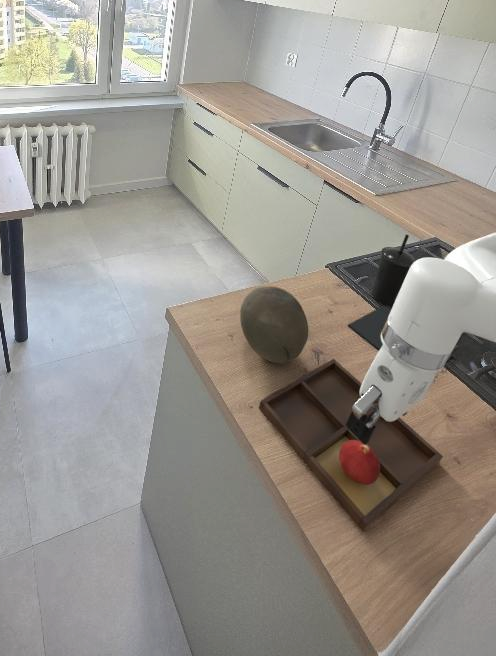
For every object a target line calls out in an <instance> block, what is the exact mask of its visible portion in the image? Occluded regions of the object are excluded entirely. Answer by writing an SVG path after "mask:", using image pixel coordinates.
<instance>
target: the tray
mask: <svg viewBox="0 0 496 656" xmlns="http://www.w3.org/2000/svg"><path fill="white" fill-rule="evenodd" d="M361 385H362V382H360V380H358V379H357V378H356V377H355V376H354V375H353V374H352V373H350V371H348V370H347V369H346V368H345V367H344V366H342V364H340V363H339V362H338V361H337V360H336V359H335V358H332V359H330V360H328V361H326V362H325V363H323V364H322V365H319V366H318V367H316V368H314V369H313V370H311V371H309V372H308V373H306V374H304V375H303V376H301V377H299V378H298V379H296V380H294V381H292V382H291V383H289V384H287V385H286V386H284V387H282V388H280V389H279V390H277V391H274V392H273V393H271V394H270V395H268V396H266V397H265V398H263V399H261V400H260V401H259V406H258V409H259V411H261V412H262V414H263V415H265V417H266V418H267V420H268V421H269V422H270V423H271V424H272V425H273V427H274V428H275V429H276V431H278V433H279V435H281V436H282V437H283V439H284V440H286V442H287V443H288V445H289V446H290V447H291V448H292V449H293V451H294V452H295V453H296V454H297V455H298V456H299V457H300V459H301V460H302V461H303V462H304V463H305V465H306V467H308V468H309V469H310V471H311V472H312V473H313V474H314V476H315V477H316V478H317V479H318V480H319V482H320V483H321V484H322V485H323V486H324V487H325V489H326V490H327V491H328V492H329V494H331V496H332V497H333V498H334V499H335V501H336V502H337V504H339V505H340V507H341V508H342V509H343V510H344V511H345V512H346V514H347V515H348V516H349V517H350V519H351V520H352V521H353V522H354V524H356V526H357V527H358V528H359V530H360V531H361V532H364V531H366V530H367V529H368V528H369V527H370V526H371V525H372V524H373V523H375V522H376V521H377V520H378V519H379V518H380V517H381V516H382V515H384V513H386V512H387V511H388V510H389V509H390V508H391V507H392V506H393V505H395V503H397V502H398V501H399V500H400V499H401V498H403V497H404V495H406V494H407V493H408V492H409V491H410V490H411V489H412V488H413V487H415V486H416V485H417V484H418V483H419V482H421V480H422V479H424V477H426V476H427V475H428V474H429V473H430V472H431V471H433V470H434V469H435V468H436V467H437V466H438V465H439V464H440V462H441V461H442V460H443V457H444V456H443V455H442V454H441V453H440V452H439V451H438V450H437V449H435V447H433V445H431V443H429V442H428V441H426V440H425V439H424V437H422V436H421V435H420V434H419V433H417V432H416V430H414V428H413V427H411V426H410V425H409V424H408V423H406V422H405V421H404V420H403V418H401V417H399V418H398V419H396V420H395V421H392V422H389V421H386V420H385V419H384V418H383V417H381V416H380V418H379V419H378V420H377V421H376V423H375V424H374V425H375V427H376V428H375V430H374V432H373V434H372V436H371V438H370V440H369V442H368V443H367V445H369V446H370V447H371V448H372V449H373V451H374V452H375V453H376V455H377V457H378V460H379V463H380V474H379V477H378V478H377V480H376V481H375V482H374V483H372V484H369V485H364V484H360V483H357V482H356V481H354V480H352V479H351V478H350V477H349V476H348V475H347V474H346V473H345V472H344V470H343V469H342V466H341V463H340V460H339V453H340V449H341V447H342V446H343V444H344V443H345V442H347V441H350V440H357V441H360V440H359V439H358V438H357V437H356V436H355V435H354V434H353V433H352V432H351V431H350V430H349V429H348V428H347V426H346V423H347V421H348V419H349V417H350V414H351V410H352V407H353V405H354V404H355V403H356V402H357V401H358V400H359V399H360V398H361V397H360V393H359V391H360V387H361ZM375 404H376V405H377V406H378V407H379V400H377V401H376V402H375ZM375 412H376V410H374V409H373V408H372V407H370V408H369V409H368V410H367V412H366V414H367V415H368V416H369V417H370V418H371V417H372V416H373V414H374V413H375Z"/></svg>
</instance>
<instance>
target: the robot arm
mask: <svg viewBox="0 0 496 656" xmlns="http://www.w3.org/2000/svg"><path fill="white" fill-rule="evenodd" d="M390 310H391V312H390V314H389V316H388V319H387V321H386V323H385V325H384V328H383V330H382V332H381V341H382V343H383V345H382V347H381V349H380V350H378V352H377V354H376V355H375V357H374V359H373V361H372V363H371V365H370V366H369V368H368V369H367V372H366V374H365V376H364V378H363V380H362V382H361V383H362V385H361V387H360V391H359V393H360V397H361V398H360V399H359V400H358V401H357V402H356V403H355V404H354V405H353V407H352V410H351V414H350V417H349V419H348V421H347V423H346V426H347V428H348V429H349V430H350V431H351V432H352V433H353V434H354V435H355V436H356V437H357V438H358V439H359V440H360V441H361V442H362V443H363V444H365V445H366V444H367V443H368V442H369V440H370V438H371V436H372V434H373V432H374V430H375V428H376V427H375V425H374V424H375V423H376V421H377V420H378V419H379V418H380V416H381V417H383V418H384V419H385V420H386V421H389V422H392V421H395V420H396V419H398V418H399V417H400V418H401V417H403V416H406V415H407V414H408V413H409V411H410V410H411V409H413V408H415V407H416V406H417V405H418V404H419V403H421V402H422V401H423V400H424V399H425V397H426V396H427V394H428V393H429V391H430V388H431V386H432V384H433V381H434V379H435V377H436V375H437V373H439V372H440V371H442V370H443V369H444V367H445V365H446V364H447V361H449V360H448V358H449V356H450V354H451V353H452V352H453V350H454V349H455V347H456V345H457V344H458V341H459V340H460V338H461V336H462V334H463V333H467V334H470V335H473V336H477V337H479V338H482V339H485V340H488V341H490V342H493V343H496V232H493V233H490V234H487V235H484V236H481V237H479V238H476V239H472V240H470V241H468V242H466V243H464V244H461V245H459V246H457V247H456V248H453V250H451V252H449V253H447V255H446V256H445V257H444V259H443V258H439V257H421V258H419V259H416V261H415V262H414V263H413V264H412V265H411V267H410V269H409V271H408V273H407V275H406V278H405V280H404V282H403V284H402V287H401V289H400V291H399V293H398V295H397V297H396V298H395V300H394V302H393V304H392V307H391V309H390ZM377 400H379V407H378V406H377V405H376V404H375V402H376V401H377ZM370 407H372V408H373V409H374V410H376V412H375V413H374V414H373V416H372V417H371V418H370V417H369V416H368V415H367V414H366V412H367V410H368V409H369V408H370Z"/></svg>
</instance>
